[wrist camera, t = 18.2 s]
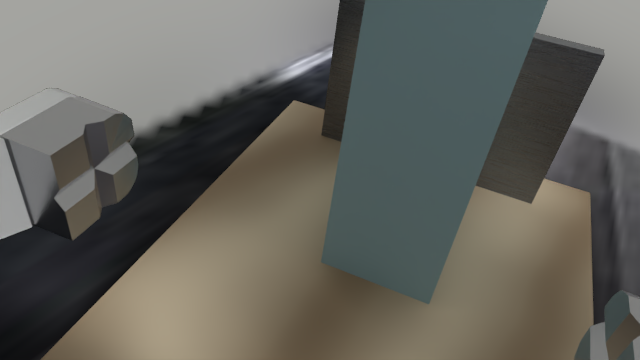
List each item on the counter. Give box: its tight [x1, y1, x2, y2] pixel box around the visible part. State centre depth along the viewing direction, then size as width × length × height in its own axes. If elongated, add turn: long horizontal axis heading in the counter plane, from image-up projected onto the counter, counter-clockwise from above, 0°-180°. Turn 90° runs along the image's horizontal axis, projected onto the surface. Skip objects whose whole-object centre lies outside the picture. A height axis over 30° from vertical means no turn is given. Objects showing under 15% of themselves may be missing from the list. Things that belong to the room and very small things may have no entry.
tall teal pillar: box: [321, 0, 548, 304], centre depth 16 cm, size 4×7×14 cm, turn 157°
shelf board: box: [41, 100, 593, 360], centre depth 18 cm, size 15×20×2 cm
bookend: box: [321, 0, 604, 204], centre depth 22 cm, size 10×2×7 cm, turn 67°
